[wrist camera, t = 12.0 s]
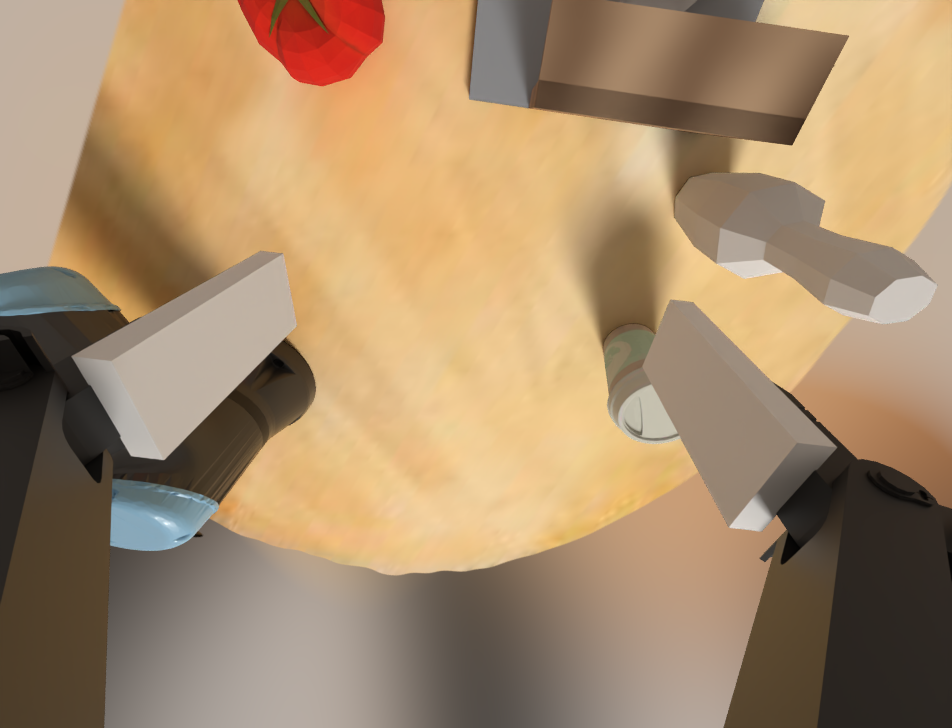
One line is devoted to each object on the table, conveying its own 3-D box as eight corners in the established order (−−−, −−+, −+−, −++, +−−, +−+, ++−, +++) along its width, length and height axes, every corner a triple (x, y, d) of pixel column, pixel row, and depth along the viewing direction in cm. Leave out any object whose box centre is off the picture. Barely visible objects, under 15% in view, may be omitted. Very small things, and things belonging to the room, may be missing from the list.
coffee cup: (611, 302, 41) (641, 364, 31) (683, 324, 42) (735, 391, 32) (578, 364, 46) (595, 434, 36) (643, 383, 46) (678, 457, 36)
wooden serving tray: (528, 108, 32) (534, 107, 20) (540, 38, 29) (554, -7, 18) (692, 132, 32) (792, 145, 20) (718, 64, 29) (849, 36, 18)
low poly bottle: (719, 239, 36) (920, 369, 18) (653, 231, 36) (787, 352, 18) (753, 166, 33) (1045, 236, 15) (680, 157, 33) (879, 216, 15)
